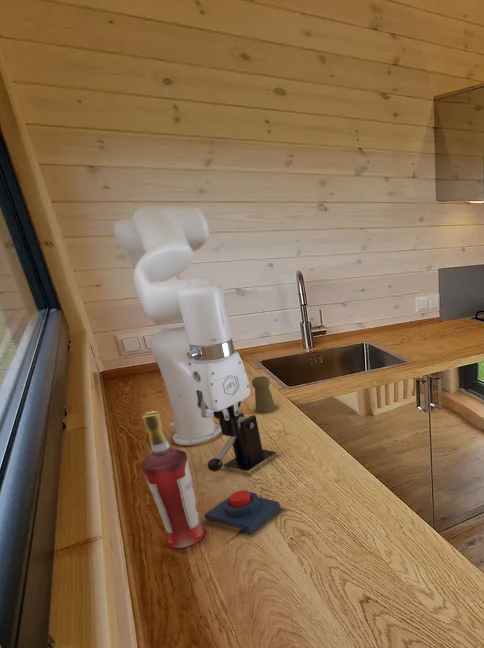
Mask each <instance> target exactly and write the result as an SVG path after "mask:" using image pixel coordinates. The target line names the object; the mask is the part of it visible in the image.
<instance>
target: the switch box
mask: <svg viewBox="0 0 484 648" xmlns="http://www.w3.org/2000/svg"><path fill="white" fill-rule="evenodd" d="M248 492H249V493H250V497H251V502H250V503H249V504H247V505H245V506H242V507H232V506H231V504H230V500H229V497H227V498H226V499H224V500H223V501H221V502H220V503H218V504H217V505H216V506H214V507H213V508H211V509H210V510H208V511H206V512H205V513H204V519H205V520H207V521H211V522H215V523H217V524H221V525H226V526H229V527H233V528H236V529H240V530H239V533H242V534H246V535H251V536H252V535H253V534H254V533H255V532H257V530H259V529H260V528H262V527H263V526H264V525H265V524H266V523H267V522H269V521H270V520H272V518H274V517H275V516H276V515H277V514H278V513H280V512H281V510H282V509H281V505H280V502H279V501H276V500H272V499H268V498H264V497H260V496H259V495H258V494H257V493H256V492H253V491H248Z"/></svg>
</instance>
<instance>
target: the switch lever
mask: <svg viewBox="0 0 484 648" xmlns="http://www.w3.org/2000/svg"><path fill="white" fill-rule="evenodd" d="M246 418H247V416H244V417H239V418H238V420H237V421H238V426H239V430H240V433H241V427H240V422H241V421H243V420H244V419H246ZM238 436H239V434H238V435H236V436H234V437H231V436H229V438H228V440H227V441H226V443H225V444H224V445H223V447H222V448H221V450H220V452H219V453H218V454H217V456H216V457H214V458H211V459H210V460H208V461H207V468H208V470H209V471H210V472H213V473H217V472H219V471H221V469H223V467H224V466H223V465H224V464H223V460H224V458H225V457H226V456H227V454H228V452H229V451H230V449H231V448H232V447H233V443H234V442H235V440H236V439H237V437H238Z"/></svg>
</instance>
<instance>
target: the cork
mask: <svg viewBox="0 0 484 648" xmlns="http://www.w3.org/2000/svg"><path fill="white" fill-rule="evenodd" d="M270 382H271V381H270V379H269V378H268V377H267V376H264V375H262V376H257V377H254V378H253V379H252V381H251V386H252V387H253V389H254V400H255V412H256V413H257V414H268V413H272V412H273V411H275V410H276V405H275V401H274V399H273V395H272V393H271V390H270V387H269V386H270V384H271V383H270Z"/></svg>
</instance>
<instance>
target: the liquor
mask: <svg viewBox="0 0 484 648" xmlns="http://www.w3.org/2000/svg"><path fill="white" fill-rule="evenodd" d="M141 417H142V421H143V423H144V426H145V427H146V430H147V432H148V435H149V436H148V438H149V443H150V448H151V453H150V454H148V455H147V456H146V457H145V458H143V460H142V462H141V463H140V467H141V470H142V472H143V474H144V478H145V480H146V482H147V485H148V487H149V490H150V492H151V495H152V497H153V500H154V503H155V505H156V508H157V510H158V513H159V516H160V518H161V521H162V525H163V527H164V529H165V533H166V535H167V540H166V544H167V546H168V547H170V548H173V549H184V548H185V549H186V548H189V547H191V546H194V545H195V544H197V543H198V542H200V541H201V540H202V539H203V538H204V537H205V536H206V533H207V530H206V528H205V527H204V526H203V525H202V520H201V517H200V513H199V507H198V504H197V499H196V493H195V488H194V484H193V477H192V474H191V469H190V464H189V460H188V456H187V452H186V451H184V450H182V449H179V448H173V447H171V445H170V443H169V441H168V438H167V436H166V433H165V432H164V429H163V419H162V415H161V412H160V411H157V410H153V411H148V412H145V413H143V414H142V416H141Z"/></svg>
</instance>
